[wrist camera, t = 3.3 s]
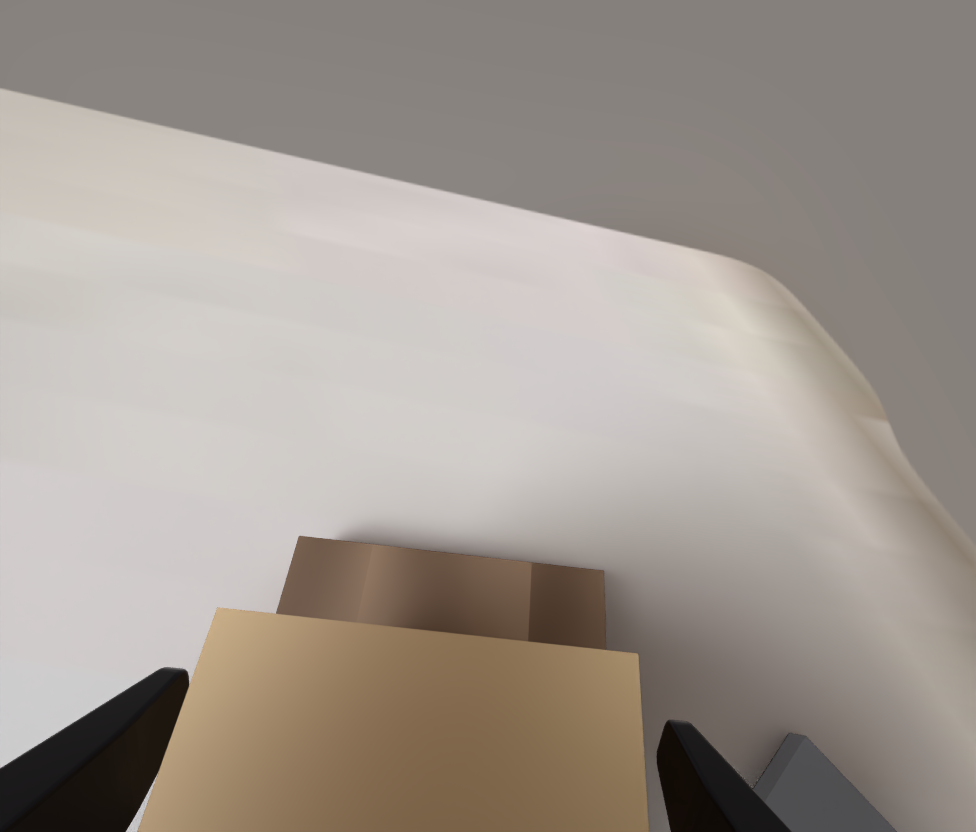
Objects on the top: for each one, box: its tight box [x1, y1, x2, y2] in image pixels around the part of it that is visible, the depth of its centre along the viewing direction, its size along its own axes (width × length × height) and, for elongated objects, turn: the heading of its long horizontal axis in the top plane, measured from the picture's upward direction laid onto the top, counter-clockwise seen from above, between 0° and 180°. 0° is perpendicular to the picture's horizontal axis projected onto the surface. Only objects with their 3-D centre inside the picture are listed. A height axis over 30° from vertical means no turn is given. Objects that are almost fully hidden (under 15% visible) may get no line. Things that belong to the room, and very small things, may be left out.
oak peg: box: [137, 607, 649, 832], centre depth 9 cm, size 4×4×13 cm
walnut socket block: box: [276, 536, 606, 650], centre depth 14 cm, size 10×10×2 cm
